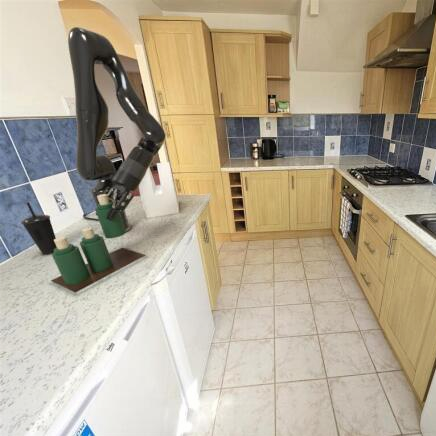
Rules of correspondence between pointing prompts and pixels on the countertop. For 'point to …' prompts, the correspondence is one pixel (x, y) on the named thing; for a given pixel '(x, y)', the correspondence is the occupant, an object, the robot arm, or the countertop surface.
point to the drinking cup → (40, 231)
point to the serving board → (119, 261)
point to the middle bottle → (95, 251)
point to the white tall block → (159, 193)
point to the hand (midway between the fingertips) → (103, 217)
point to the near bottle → (69, 262)
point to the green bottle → (109, 227)
